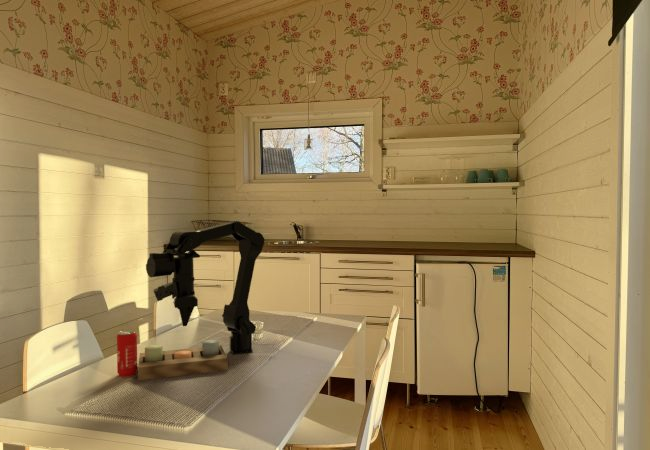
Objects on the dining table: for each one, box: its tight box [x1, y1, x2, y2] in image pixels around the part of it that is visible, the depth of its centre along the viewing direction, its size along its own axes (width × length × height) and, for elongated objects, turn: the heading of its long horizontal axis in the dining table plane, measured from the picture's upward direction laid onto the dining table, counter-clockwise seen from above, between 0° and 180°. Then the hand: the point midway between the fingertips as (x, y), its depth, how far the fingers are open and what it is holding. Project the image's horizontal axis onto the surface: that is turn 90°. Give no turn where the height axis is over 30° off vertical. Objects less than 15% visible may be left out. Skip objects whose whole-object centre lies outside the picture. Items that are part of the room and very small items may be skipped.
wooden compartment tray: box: [137, 345, 229, 381], centre depth 139 cm, size 24×14×4 cm, turn 109°
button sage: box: [144, 344, 164, 362], centre depth 136 cm, size 5×5×4 cm
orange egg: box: [174, 351, 191, 359], centre depth 139 cm, size 5×5×4 cm
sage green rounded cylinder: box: [201, 339, 220, 357], centre depth 142 cm, size 5×5×4 cm
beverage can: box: [116, 329, 138, 378], centre depth 133 cm, size 5×5×12 cm
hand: (184, 325), depth 141 cm, fingers closed
